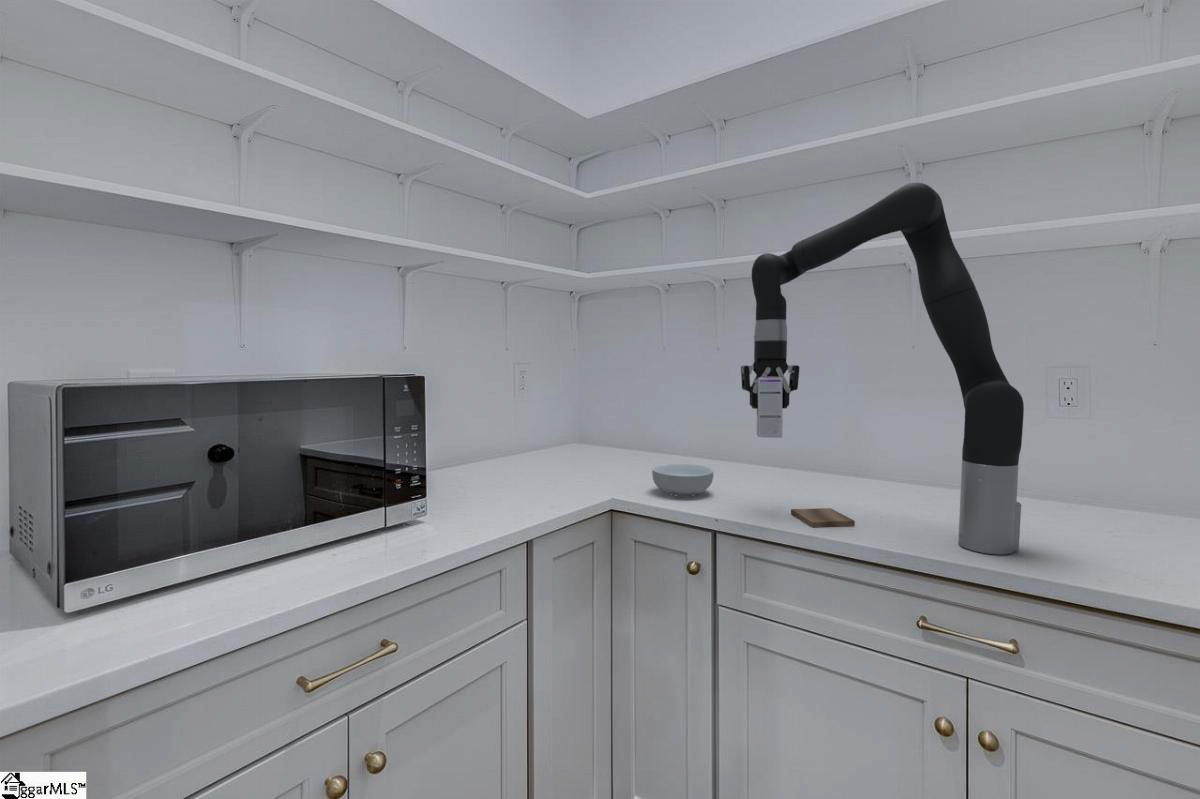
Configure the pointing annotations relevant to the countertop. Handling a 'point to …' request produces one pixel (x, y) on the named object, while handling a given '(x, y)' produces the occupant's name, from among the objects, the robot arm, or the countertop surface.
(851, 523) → the walnut board
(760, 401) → the syrup box
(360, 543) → the countertop surface
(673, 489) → the cereal bowl
